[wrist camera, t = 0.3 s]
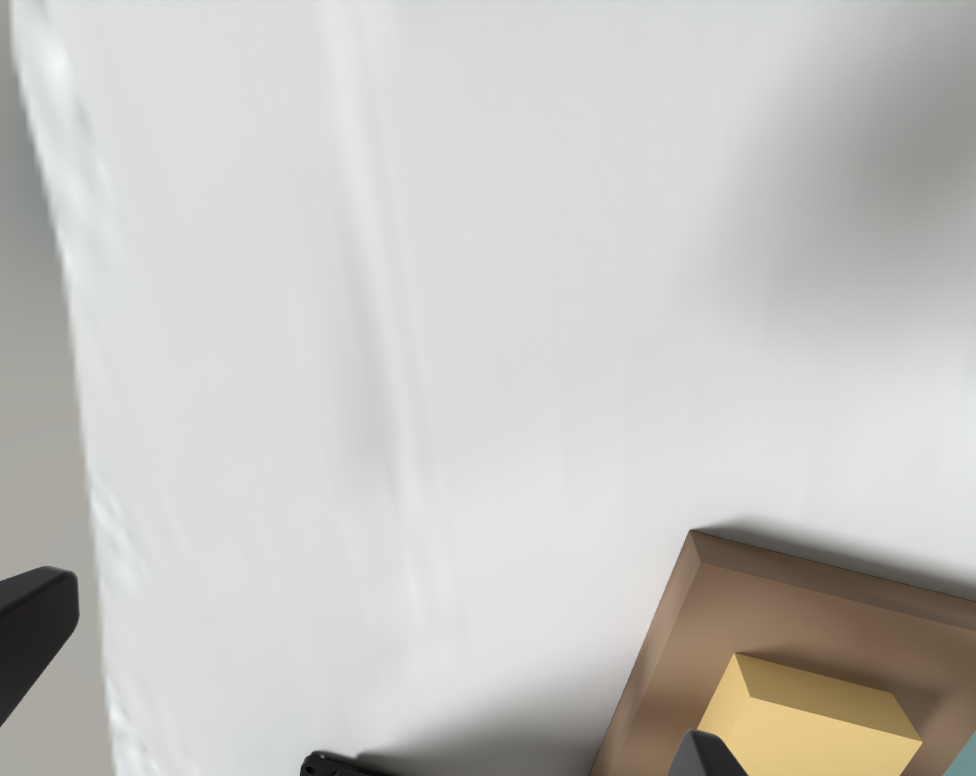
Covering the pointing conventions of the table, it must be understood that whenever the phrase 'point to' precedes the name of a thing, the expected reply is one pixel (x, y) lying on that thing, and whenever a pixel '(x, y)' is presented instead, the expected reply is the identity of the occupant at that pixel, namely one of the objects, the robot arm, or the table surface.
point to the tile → (807, 723)
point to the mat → (964, 760)
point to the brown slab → (793, 649)
